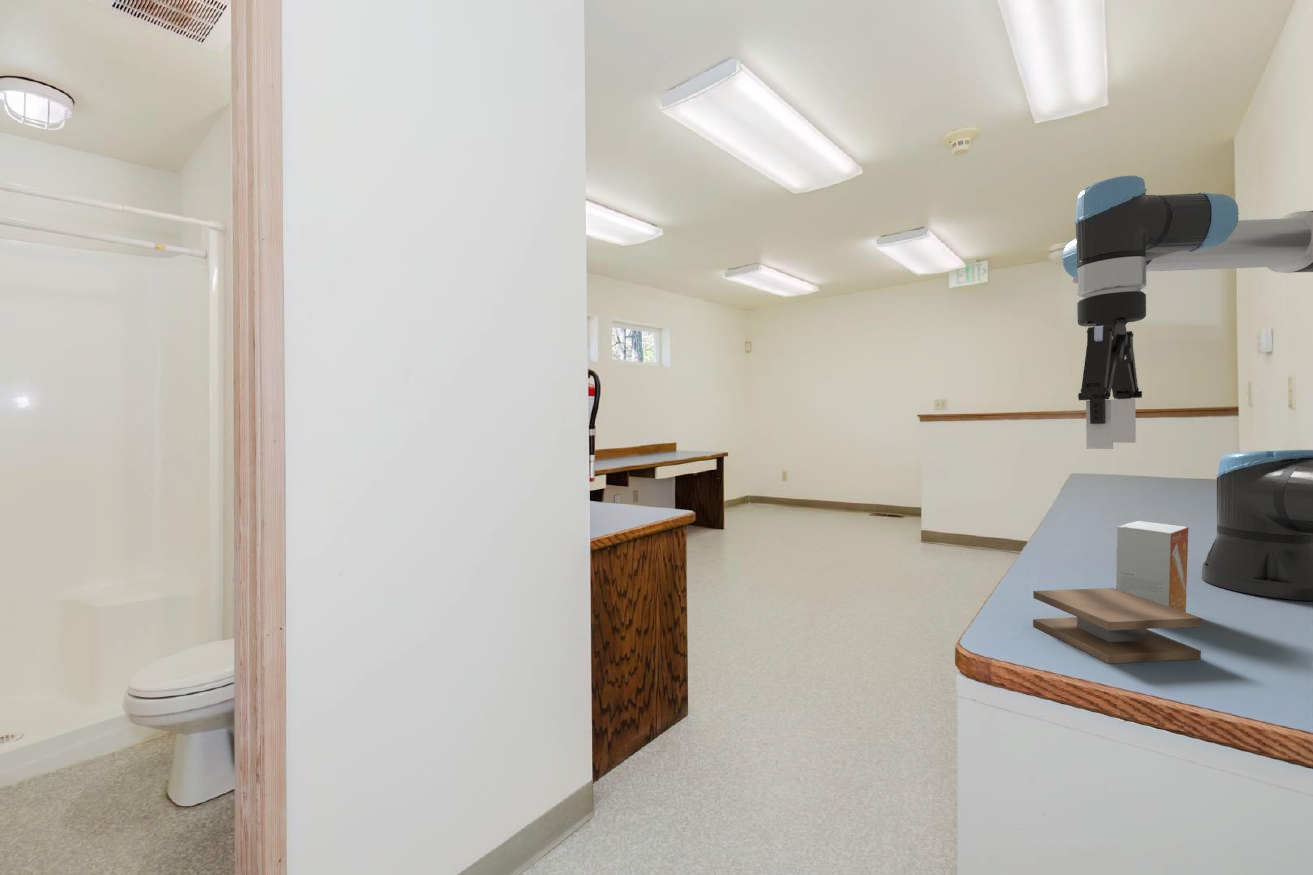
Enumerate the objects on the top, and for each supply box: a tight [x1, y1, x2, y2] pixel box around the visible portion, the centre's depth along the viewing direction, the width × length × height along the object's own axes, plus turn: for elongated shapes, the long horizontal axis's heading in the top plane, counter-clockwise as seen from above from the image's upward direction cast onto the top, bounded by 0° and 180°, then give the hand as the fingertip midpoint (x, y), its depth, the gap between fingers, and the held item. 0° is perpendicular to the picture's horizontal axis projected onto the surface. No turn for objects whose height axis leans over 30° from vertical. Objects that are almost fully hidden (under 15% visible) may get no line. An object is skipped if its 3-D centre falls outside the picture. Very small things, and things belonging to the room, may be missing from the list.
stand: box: [1032, 587, 1203, 664], centre depth 73 cm, size 12×12×5 cm
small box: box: [1115, 520, 1189, 613], centre depth 83 cm, size 8×6×13 cm
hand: (1112, 445), depth 80 cm, fingers open, 13 cm apart
